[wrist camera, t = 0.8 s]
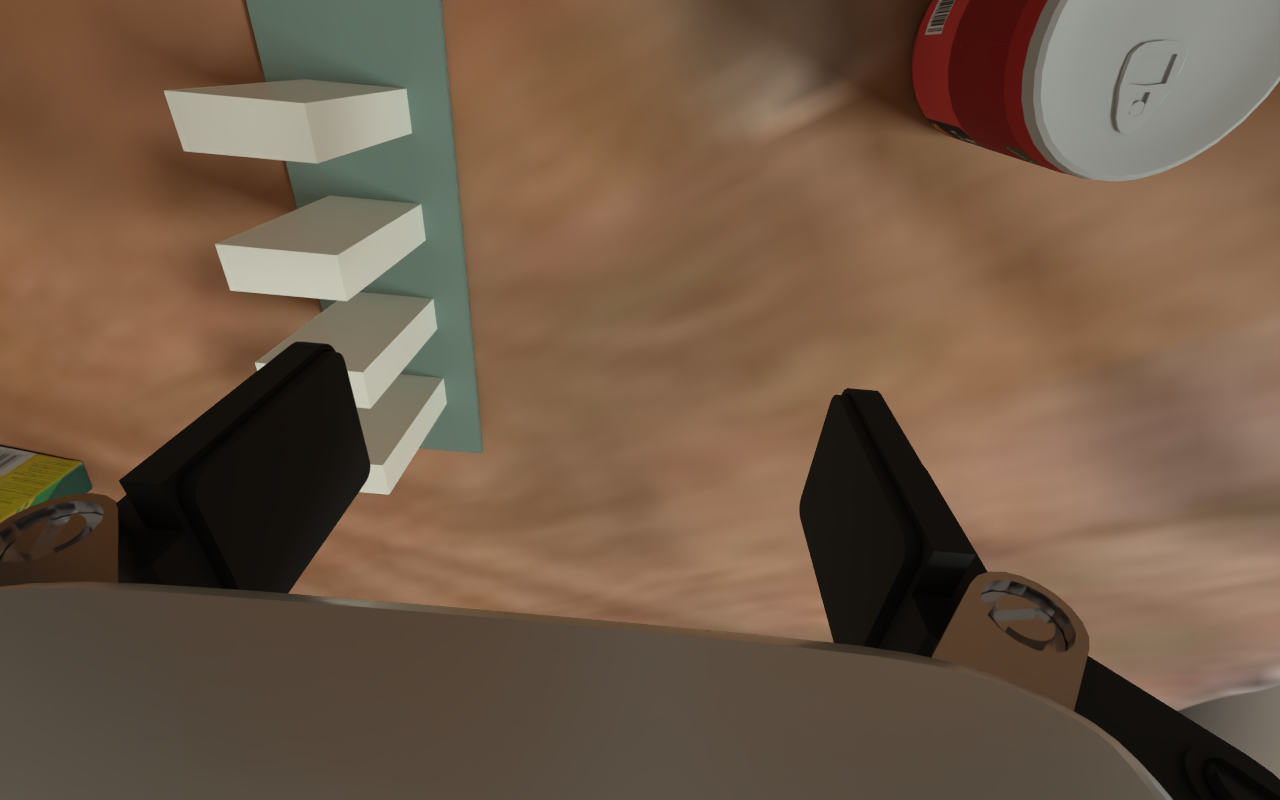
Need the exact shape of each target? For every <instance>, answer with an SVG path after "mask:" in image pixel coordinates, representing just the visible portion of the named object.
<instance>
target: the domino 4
mask: <svg viewBox="0 0 1280 800" xmlns="http://www.w3.org/2000/svg"><path fill="white" fill-rule="evenodd" d="M446 404H447V401H446V393H445V385H444V378H438V377H427V376H416V375H406V374H399V375H398V376H397V378H396V379H395V380H394V381H393V382H392V384H391V385H390V386H389V387H388V388H387V390H386V391H385V392H384V393H383V394H382V396H381V397H380V398H379V399H378V400H377V401H376V403H375V404H374V405H373V406H372V407H371V409H369V408H358V407H357V411H358V415H359V419H360V423H361V427H362V431H363V435H364V439H365V443H366V447H367V451H368V455H369V459H370V473H369V477H368V479H367V481H366V482H365V484H364V485H363V487H362V488H361V490H360V491H359V492H366V493H377V494H388V495H389V494H390V493H391V491H392V489H393V488H394V486H395V485H396V483H397V482H398V480H399V478H400V477H401V475H402V474H403V472H404V471H405V469H406V467H407V466H408V464H409V463H410V461H411V459H412V458H413V456H414V455H415V453H416V452H417V450H418V448H419V447H420V445H421V444H422V442H423V441H424V439H425V437H426V436H427V434H428V433H429V431H430V430H431V428H432V426H433V425H434V423H435V422H436V420H437V418H438V417H439V415H440V414H441V412H442V411H443V409H444V407H445V406H446Z"/></svg>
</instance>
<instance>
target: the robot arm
mask: <svg viewBox="0 0 1280 800" xmlns="http://www.w3.org/2000/svg"><path fill="white" fill-rule="evenodd" d="M369 473H370V459H369V455H368V451H367V447H366V443H365V439H364V435H363V431H362V427H361V423H360V419H359V415H358V411H357V407H356V403H355V399H354V395H353V391H352V387H351V383H350V379H349V375H348V371H347V367H346V363H345V360H344V357H343V356H342V354H341V353H339V352H336V351H335V349H334V348H333V347H332V346H331V345H329V344H324V343H312V342H294V343H292V344H291V345H290V346H288V347H287V348H286V349H284V350H283V351H282V352H281V353H279V354H278V355H277V356H276V357H274V358H273V359H272V360H271V361H269V362H268V363H267V364H266V365H264V366H263V367H262V368H261V369H259V370H258V371H257V372H255V373H254V374H253V375H252V376H250V377H249V378H248V379H247V380H245V381H244V382H243V383H242V384H240V385H239V386H238V387H237V388H235V389H234V390H233V391H232V392H230V393H229V394H228V395H226V396H225V397H224V398H223V399H221V400H220V401H219V402H218V403H216V404H215V405H214V406H213V407H211V408H210V409H209V410H208V411H206V412H205V413H204V414H202V415H201V416H200V417H199V418H197V419H196V420H195V421H194V422H192V423H191V424H190V425H189V426H187V427H186V428H185V429H184V430H182V431H181V432H180V433H179V434H177V435H176V436H175V437H173V438H172V439H171V440H170V441H168V442H167V443H166V444H165V445H163V446H162V447H161V448H160V449H158V450H157V451H156V452H155V453H153V454H152V455H151V456H149V457H148V458H147V459H146V460H144V461H143V462H142V463H141V464H139V465H138V466H137V467H136V468H134V469H133V470H132V471H131V472H129V473H128V474H127V475H126V476H124V477H123V478H122V479H120V480H119V482H120V483H121V485H122V487H123V489H124V490H125V492H126V494H127V495H126V496H125V497H123V498H122V499H121V500H120V501H119V502H117V503H116V502H115V501H114V500H113V499H111V498H109V497H108V496H106V495H100V494H94V493H87V494H73V495H68V496H63V497H59V498H54V499H51V500H48V501H45V502H42V503H39V504H36V505H33V506H31V507H29V508H27V509H24V510H22V511H20V512H18V513H16V514H14V515H12V516H10V517H9V518H7V519H5V520H4V521H2V522H1V523H0V800H1280V780H1279V779H1278V778H1277V777H1276V776H1275V775H1274V774H1273V773H1272V772H1270V771H1269V770H1267V769H1266V768H1265V767H1263V766H1262V765H1260V764H1259V763H1258V762H1256V761H1255V760H1253V759H1252V758H1251V757H1249V756H1247V755H1246V754H1244V753H1243V752H1241V751H1240V750H1238V749H1236V748H1235V747H1233V746H1232V745H1230V744H1228V743H1227V742H1225V741H1224V740H1222V739H1220V738H1219V737H1217V736H1216V735H1214V734H1213V733H1211V732H1209V731H1208V730H1206V729H1204V728H1203V727H1201V726H1200V725H1198V724H1196V723H1195V722H1193V721H1192V720H1190V719H1188V718H1187V717H1185V716H1183V715H1182V714H1180V713H1179V712H1177V711H1176V710H1174V709H1172V708H1171V707H1169V706H1168V705H1166V704H1164V703H1163V702H1161V701H1160V700H1158V699H1156V698H1155V697H1153V696H1152V695H1150V694H1148V693H1147V692H1145V691H1144V690H1142V689H1140V688H1139V687H1137V686H1136V685H1134V684H1132V683H1131V682H1129V681H1127V680H1126V679H1124V678H1123V677H1121V676H1119V675H1118V674H1116V673H1115V672H1113V671H1111V670H1110V669H1108V668H1107V667H1105V666H1103V665H1102V664H1100V663H1099V662H1097V661H1095V660H1094V659H1092V658H1091V657H1089V656H1088V652H1089V636H1088V633H1087V631H1086V629H1085V627H1084V625H1083V622H1082V621H1081V620H1080V618H1079V617H1078V616H1077V615H1076V613H1075V612H1074V611H1073V610H1072V608H1071V607H1070V606H1068V605H1067V604H1066V603H1065V602H1064V601H1063V600H1062V599H1060V598H1059V597H1058V596H1057V595H1056V594H1054V593H1053V592H1051V591H1049V590H1048V589H1046V588H1045V587H1043V586H1041V585H1040V584H1038V583H1036V582H1034V581H1031V580H1029V579H1027V578H1024V577H1022V576H1019V575H1015V574H1011V573H1007V572H987V570H986V568H985V567H984V565H983V563H982V562H981V560H980V558H979V557H978V555H977V553H976V552H975V550H974V548H973V547H972V545H971V543H970V542H969V540H968V538H967V537H966V535H965V533H964V532H963V530H962V528H961V527H960V525H959V523H958V521H957V520H956V518H955V516H954V515H953V513H952V511H951V510H950V508H949V506H948V505H947V503H946V501H945V500H944V498H943V496H942V495H941V493H940V491H939V490H938V488H937V486H936V485H935V483H934V481H933V480H932V478H931V476H930V474H929V473H928V471H927V470H926V468H925V467H924V466H923V465H922V463H921V461H920V459H919V458H918V456H917V454H916V453H915V451H914V449H913V448H912V446H911V444H910V443H909V441H908V439H907V438H906V436H905V434H904V433H903V431H902V429H901V427H900V426H899V424H898V422H897V421H896V419H895V417H894V416H893V414H892V412H891V411H890V409H889V407H888V406H887V404H886V402H885V400H884V399H883V397H882V395H881V394H880V393H879V392H878V391H873V390H862V389H850V388H847V389H845V390H844V391H843V393H842V395H835V396H833V398H832V400H831V402H830V406H829V409H828V412H827V415H826V419H825V422H824V425H823V428H822V432H821V435H820V438H819V441H818V445H817V448H816V451H815V454H814V458H813V461H812V464H811V467H810V471H809V474H808V477H807V480H806V484H805V487H804V490H803V493H802V496H801V500H800V519H801V522H802V526H803V530H804V534H805V537H806V541H807V545H808V548H809V552H810V556H811V559H812V563H813V567H814V571H815V574H816V578H817V582H818V585H819V589H820V593H821V597H822V600H823V604H824V608H825V611H826V615H827V619H828V623H829V626H830V630H831V634H832V637H833V641H834V643H830V642H821V641H812V640H802V639H793V638H784V637H775V636H766V635H756V634H746V633H735V632H724V631H713V630H702V629H692V628H681V627H670V626H659V625H648V624H637V623H626V622H616V621H605V620H594V619H582V618H571V617H559V616H548V615H537V614H525V613H514V612H502V611H491V610H479V609H467V608H456V607H444V606H432V605H421V604H409V603H397V602H385V601H372V600H360V599H348V598H335V597H323V596H311V595H298V594H288V593H289V591H290V590H291V589H292V587H293V586H294V584H295V583H296V581H297V580H298V579H299V577H300V576H301V574H302V573H303V571H304V570H305V568H306V567H307V566H308V564H309V563H310V561H311V560H312V558H313V557H314V556H315V554H316V553H317V551H318V550H319V548H320V547H321V545H322V544H323V543H324V541H325V540H326V538H327V537H328V535H329V534H330V533H331V531H332V530H333V528H334V527H335V525H336V524H337V523H338V521H339V520H340V518H341V517H342V515H343V514H344V512H345V511H346V510H347V508H348V507H349V505H350V504H351V502H352V501H353V500H354V498H355V497H356V495H357V494H358V492H359V491H360V490H361V488H362V487H363V485H364V484H365V482H366V481H367V479H368V477H369Z"/></svg>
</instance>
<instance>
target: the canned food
mask: <svg viewBox="0 0 1280 800" xmlns="http://www.w3.org/2000/svg"><path fill="white" fill-rule="evenodd" d="M911 68H912V83H913V87H914V91H915V95H916V99H917V101H918V104H919V106H920V108H921V110H922V112H923V114H924V116H925V117H926V118H927V119H928V120H929V121H930V123H931V124H932V125H933V126H934V127H935V128H937V129H938V130H939V131H941V132H942V133H944V134H945V135H947V136H950V137H953V138H956V139H958V140H961V141H965V142H968V143H971V144H974V145H977V146H980V147H983V148H986V149H989V150H992V151H995V152H999V153H1002V154H1005V155H1008V156H1011V157H1014V158H1017V159H1020V160H1023V161H1026V162H1029V163H1033V164H1036V165H1039V166H1042V167H1045V168H1048V169H1051V170H1054V171H1057V172H1060V173H1066V174H1069V175H1072V176H1076V177H1079V178H1085V179H1095V180H1104V181H1124V180H1133V179H1140V178H1143V177H1147V176H1150V175H1154V174H1157V173H1161V172H1164V171H1166V170H1168V169H1170V168H1173V167H1175V166H1177V165H1179V164H1181V163H1184V162H1186V161H1188V160H1190V159H1192V158H1193V157H1195V156H1196V155H1198V154H1200V153H1201V152H1203V151H1204V150H1206V149H1208V148H1209V147H1211V146H1212V145H1214V144H1216V143H1217V142H1218V141H1219V140H1221V139H1222V138H1223V137H1224V136H1226V135H1227V134H1228V133H1229V132H1231V131H1232V130H1233V129H1234V128H1235V127H1237V126H1238V125H1239V124H1240V123H1242V122H1243V121H1244V120H1245V119H1246V118H1247V117H1248V116H1249V115H1250V114H1251V113H1252V112H1253V111H1254V110H1255V109H1256V108H1257V106H1258V105H1259V104H1260V103H1261V102H1262V101H1263V100H1264V99H1265V98H1266V97H1267V96H1268V95H1269V94H1270V92H1271V91H1272V90H1273V88H1274V87H1275V86H1276V85H1277V83H1278V82H1279V81H1280V0H932V2H931V3H930V5H929V7H928V8H927V11H926V13H925V15H924V17H923V19H922V22H921V24H920V26H919V29H918V33H917V36H916V39H915V43H914V47H913V55H912V63H911Z"/></svg>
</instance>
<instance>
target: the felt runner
mask: <svg viewBox="0 0 1280 800" xmlns="http://www.w3.org/2000/svg"><path fill="white" fill-rule="evenodd" d="M246 2H247V7H248V11H249V15H250V19H251V23H252V27H253V31H254V35H255V39H256V43H257V47H258V51H259V55H260V59H261V63H262V68H263V72H264V76H265V80H266V82H275V81H288V80H301V79H308V80H319V81H330V82H341V83H351V84H362V85H373V86H384V87H395V88H405V89H406V90H407V98H408V105H409V113H410V121H411V129H412V133H411V134H408V135H405V136H402V137H399V138H396V139H393V140H389V141H386V142H383V143H380V144H377V145H374V146H371V147H368V148H364V149H361V150H358V151H355V152H352V153H349V154H346V155H343V156H339V157H336V158H333V159H330V160H327V161H324V162H321V163H317V164H316V163H305V162H295V161H286V165H287V169H288V173H289V177H290V182H291V186H292V190H293V194H294V198H295V202H296V206H297V209H299V208H301V207H303V206H306V205H308V204H311V203H313V202H315V201H318V200H320V199H322V198H325V197H327V196H329V195H331V196H342V197H353V198H364V199H374V200H385V201H396V202H407V203H418V204H421V206H422V214H423V222H424V230H425V238H426V241H424V242H423V243H422V244H421V245H419V246H418V247H417V248H415V249H414V250H413V251H411V252H410V253H409V254H408V255H406V256H405V257H404V258H402V259H401V260H400V261H399V262H397V263H396V264H395V265H393V266H392V267H391V268H390V269H388V270H387V271H386V272H384V273H383V274H382V275H380V276H379V277H378V278H377V279H375V280H374V281H373V282H371V283H370V284H369V285H368V286H366V287H365V288H364V289H362V290H361V291H360V292H367V293H378V294H389V295H399V296H410V297H421V298H432V299H433V300H434V308H435V315H436V323H437V330H436V331H435V332H434V334H433V335H432V336H431V337H430V338H429V340H428V341H427V342H426V343H425V344H424V345H423V347H422V348H421V349H420V350H419V351H418V353H417V354H416V355H415V356H414V357H413V359H412V360H411V361H410V362H409V363H408V365H407V366H406V367H405V368H404V369H403V370H402V372H401V373H400V374H406V375H416V376H427V377H438V378H444V385H445V393H446V401H447V404H446V406H445V407H444V409H443V411H442V412H441V414H440V415H439V417H438V418H437V420H436V422H435V423H434V425H433V426H432V428H431V430H430V431H429V433H428V434H427V436H426V437H425V439H424V441H423V442H422V444H421V445H420V447H419V448H425V449H436V450H447V451H458V452H469V453H480V454H481V453H482V451H483V448H482V437H481V427H480V416H479V405H478V394H477V383H476V372H475V362H474V351H473V340H472V329H471V318H470V307H469V297H468V286H467V275H466V264H465V253H464V242H463V232H462V221H461V210H460V199H459V188H458V177H457V167H456V156H455V145H454V134H453V123H452V112H451V102H450V91H449V80H448V69H447V58H446V47H445V37H444V26H443V15H442V4H441V0H246ZM319 300H320V304H321V308H322V312H323V311H324V310H325V309H327V308H328V307H329V306H331V305H332V304H333V303H335V302H336V301H337V300H327V299H319Z"/></svg>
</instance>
